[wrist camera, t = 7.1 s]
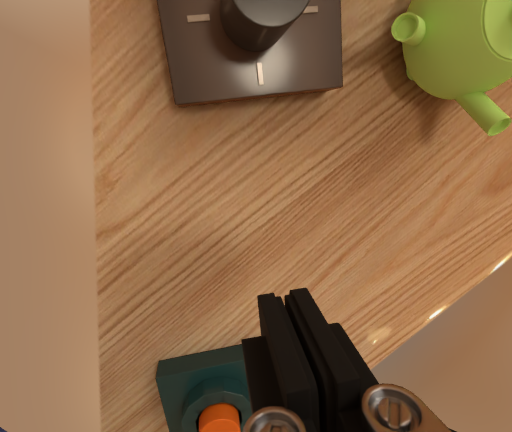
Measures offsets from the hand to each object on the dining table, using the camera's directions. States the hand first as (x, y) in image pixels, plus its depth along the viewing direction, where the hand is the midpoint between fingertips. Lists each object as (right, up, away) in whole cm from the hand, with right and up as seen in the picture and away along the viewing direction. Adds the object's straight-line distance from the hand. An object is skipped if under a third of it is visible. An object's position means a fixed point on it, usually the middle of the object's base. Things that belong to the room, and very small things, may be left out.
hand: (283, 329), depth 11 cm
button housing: (-5, -14, +21) cm, 26 cm away
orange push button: (-4, -15, +18) cm, 24 cm away
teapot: (+13, +18, +15) cm, 27 cm away
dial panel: (-2, +18, +13) cm, 22 cm away
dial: (-1, +17, +10) cm, 20 cm away
